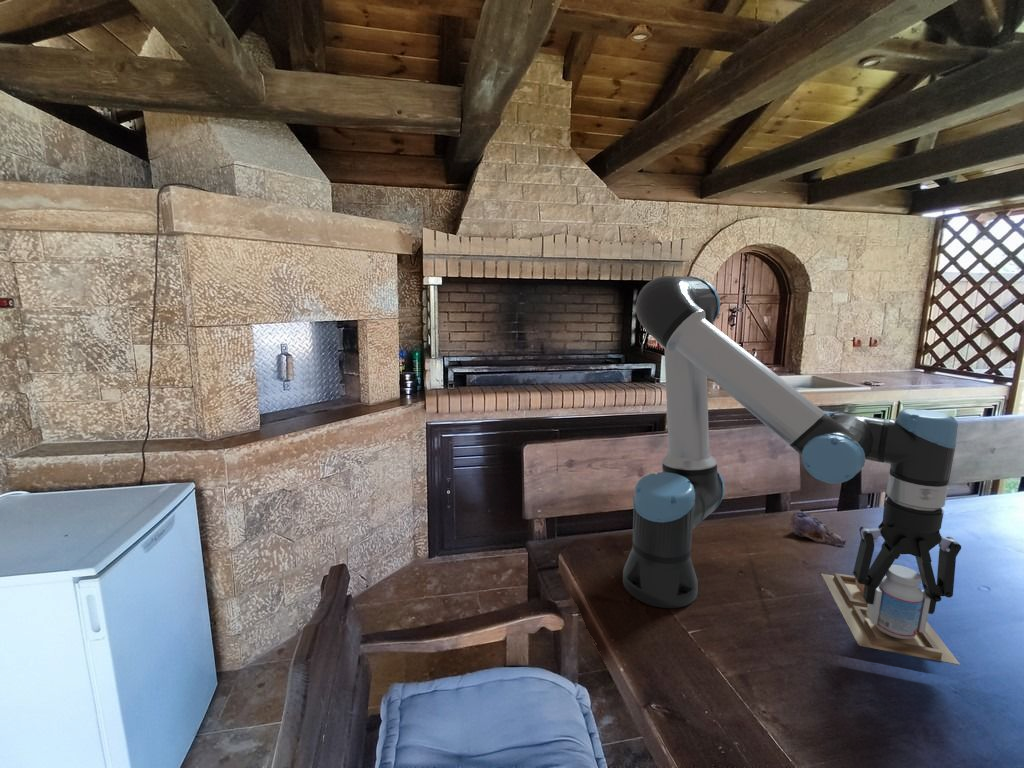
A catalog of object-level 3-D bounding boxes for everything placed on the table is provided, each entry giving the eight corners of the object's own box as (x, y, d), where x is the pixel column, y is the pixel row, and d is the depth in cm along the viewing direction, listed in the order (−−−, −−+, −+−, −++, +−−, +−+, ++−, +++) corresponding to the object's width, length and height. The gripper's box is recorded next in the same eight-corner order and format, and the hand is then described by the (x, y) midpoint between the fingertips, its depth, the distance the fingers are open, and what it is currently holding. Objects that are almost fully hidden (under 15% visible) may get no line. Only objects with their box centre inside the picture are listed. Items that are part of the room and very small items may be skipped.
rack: (857, 651, 81) (859, 640, 80) (820, 578, 101) (821, 569, 101) (959, 671, 76) (961, 659, 76) (898, 590, 97) (900, 581, 96)
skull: (849, 547, 113) (853, 524, 112) (833, 556, 110) (836, 532, 108) (799, 527, 124) (801, 505, 122) (782, 534, 120) (784, 512, 119)
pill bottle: (923, 643, 80) (936, 584, 77) (883, 638, 81) (894, 580, 79) (902, 619, 85) (913, 564, 83) (864, 614, 87) (874, 560, 84)
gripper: (855, 503, 78) (838, 625, 82) (1001, 520, 72) (975, 650, 76) (840, 486, 85) (825, 599, 89) (972, 499, 79) (949, 620, 83)
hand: (894, 622), depth 83 cm, fingers closed on pill bottle, 6 cm apart
